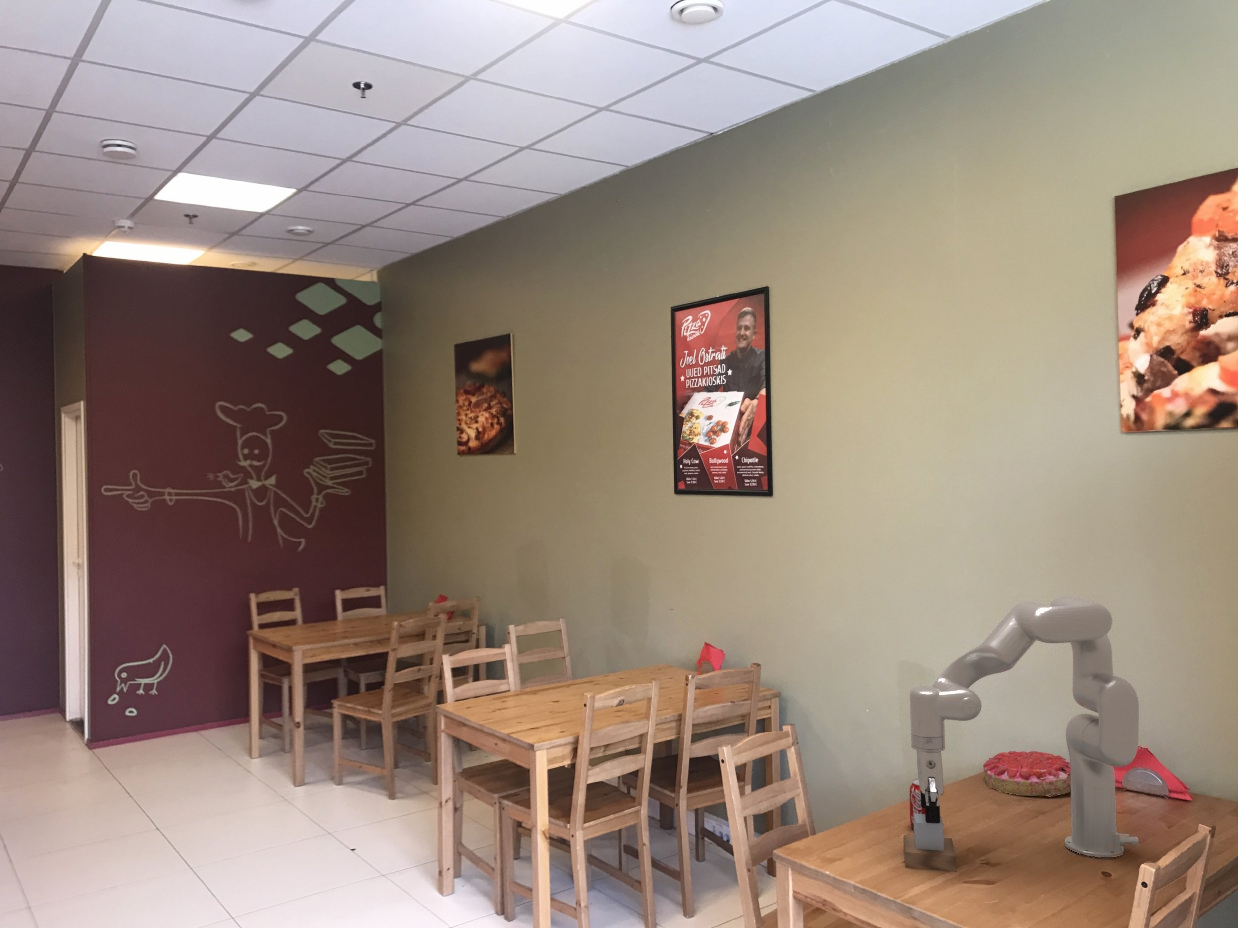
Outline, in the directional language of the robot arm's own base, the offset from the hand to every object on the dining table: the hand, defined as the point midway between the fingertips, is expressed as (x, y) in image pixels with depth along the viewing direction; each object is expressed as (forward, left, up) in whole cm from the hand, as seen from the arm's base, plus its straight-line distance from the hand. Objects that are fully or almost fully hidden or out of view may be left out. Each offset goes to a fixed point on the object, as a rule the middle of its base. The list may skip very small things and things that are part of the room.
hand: (930, 814), depth 223 cm
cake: (-34, -62, -11) cm, 71 cm away
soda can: (-1, -20, -11) cm, 23 cm away
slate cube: (+1, 0, -7) cm, 7 cm away
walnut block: (0, 0, -11) cm, 11 cm away
